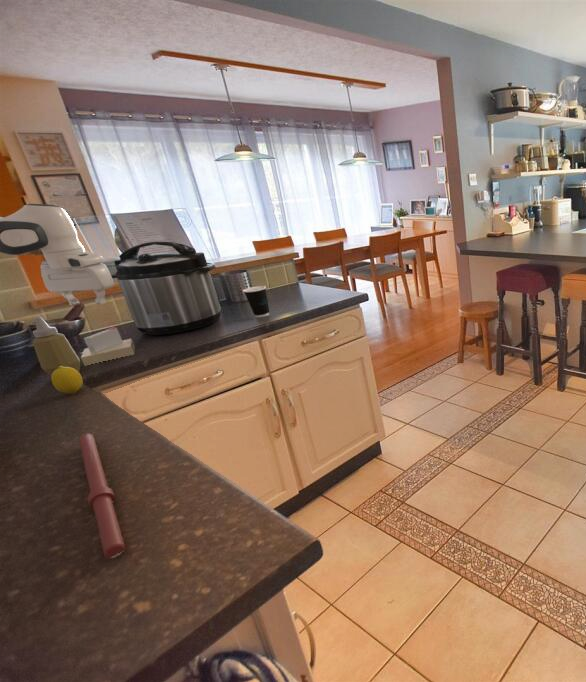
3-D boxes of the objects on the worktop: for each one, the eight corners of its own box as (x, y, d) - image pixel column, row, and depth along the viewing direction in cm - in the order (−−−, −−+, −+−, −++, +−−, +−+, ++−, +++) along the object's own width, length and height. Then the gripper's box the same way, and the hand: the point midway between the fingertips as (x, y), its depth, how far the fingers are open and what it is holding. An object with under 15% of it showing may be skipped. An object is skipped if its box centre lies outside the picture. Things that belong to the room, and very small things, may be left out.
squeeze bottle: (48, 383, 123) (17, 324, 116) (47, 376, 128) (17, 318, 122) (86, 373, 128) (58, 315, 122) (83, 366, 134) (56, 311, 127)
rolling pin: (133, 553, 63) (124, 536, 62) (105, 567, 61) (95, 550, 60) (99, 441, 92) (93, 428, 91) (79, 448, 90) (72, 435, 89)
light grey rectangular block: (96, 353, 135) (88, 337, 133) (90, 353, 136) (83, 337, 134) (123, 342, 144) (116, 327, 142) (117, 342, 144) (111, 327, 142)
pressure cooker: (244, 316, 174) (219, 235, 162) (169, 341, 150) (133, 249, 138) (198, 310, 186) (171, 235, 174) (121, 333, 162) (84, 248, 150)
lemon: (74, 389, 118) (60, 362, 116) (93, 388, 118) (80, 361, 115) (53, 399, 113) (39, 371, 110) (73, 398, 113) (59, 370, 110)
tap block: (81, 368, 132) (77, 359, 131) (86, 356, 142) (82, 347, 141) (136, 355, 140) (132, 346, 138) (137, 344, 149) (133, 336, 148)
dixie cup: (270, 317, 169) (262, 289, 165) (248, 320, 168) (239, 292, 164) (275, 311, 177) (268, 285, 173) (254, 314, 175) (246, 287, 171)
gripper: (26, 263, 128) (49, 308, 133) (86, 260, 125) (107, 306, 130) (49, 259, 134) (70, 302, 139) (107, 256, 131) (126, 300, 136)
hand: (88, 304), depth 134 cm, fingers open, 8 cm apart
